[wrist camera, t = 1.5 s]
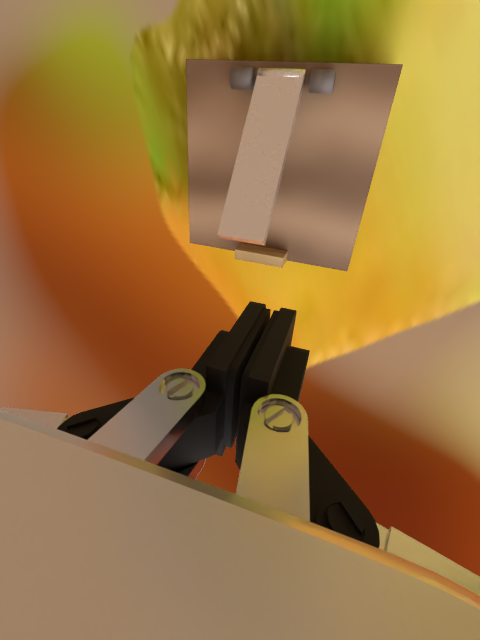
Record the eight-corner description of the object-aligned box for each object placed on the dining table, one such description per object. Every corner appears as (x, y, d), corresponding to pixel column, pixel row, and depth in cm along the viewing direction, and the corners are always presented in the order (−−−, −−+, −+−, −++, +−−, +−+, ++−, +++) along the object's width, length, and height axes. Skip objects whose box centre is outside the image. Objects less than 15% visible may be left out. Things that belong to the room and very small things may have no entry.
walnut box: (214, 71, 25) (173, 53, 20) (395, 77, 22) (406, 58, 17) (211, 229, 32) (180, 248, 27) (349, 252, 29) (346, 279, 24)
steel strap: (261, 74, 20) (259, 64, 20) (306, 76, 20) (306, 65, 19) (220, 238, 20) (216, 234, 19) (265, 246, 19) (263, 242, 19)
